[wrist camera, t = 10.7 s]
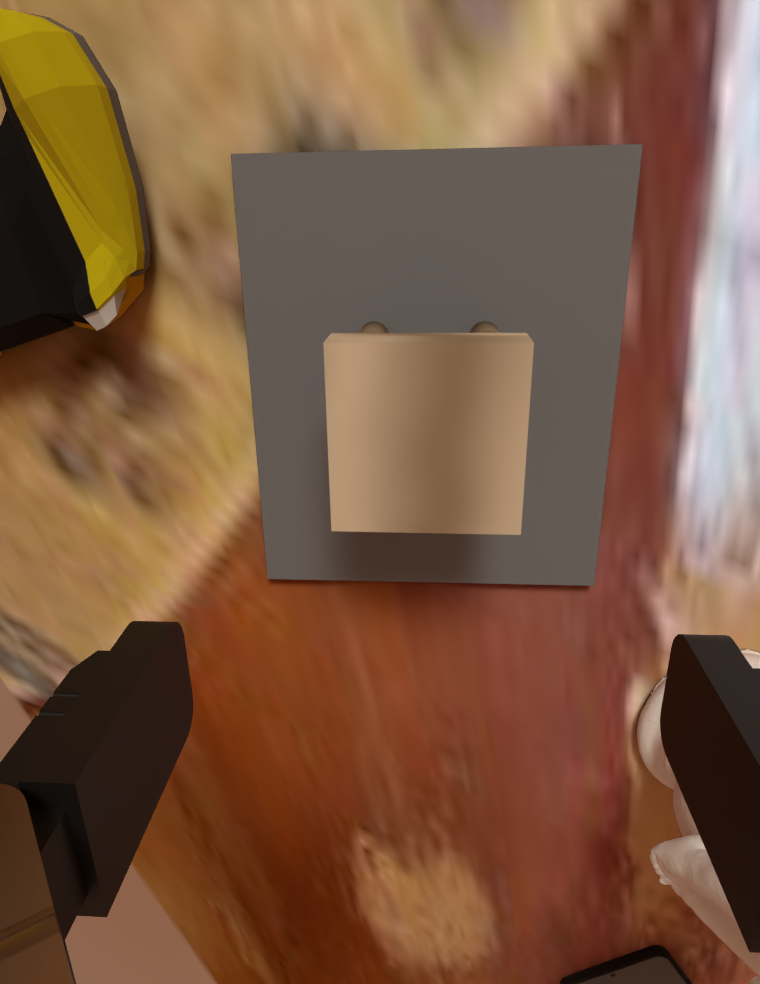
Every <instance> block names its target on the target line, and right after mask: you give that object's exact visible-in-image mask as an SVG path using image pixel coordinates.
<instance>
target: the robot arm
mask: <svg viewBox="0 0 760 984" xmlns="http://www.w3.org/2000/svg"><path fill="white" fill-rule="evenodd" d="M192 716H193V695H192V688H191V681H190V674H189V667H188V661H187V654H186V647H185V640H184V634H183V630H182V627H181V625H180V624H179V623H178V622H153V621H133V622H131V623H130V624H129V625H128V626H127V627H126V629H125V630H124V632H123V633H122V634H121V636H120V637H119V639H118V640H117V642H116V643H115V644H114V646H113V647H112V649H111V650H110V651H97V652H95V653H94V654H92V655H91V656H90V657H88V658H87V659H85V660H84V661H82V662H81V663H80V664H78V665H77V666H75V667H74V668H73V669H71V670H70V671H69V673H68V674H67V675H66V677H65V678H64V679H63V681H62V682H61V683H60V685H59V686H58V687H57V689H56V690H55V691H54V695H53V697H50V698H49V699H48V700H47V702H46V703H45V704H44V706H43V707H42V708H41V710H40V711H39V716H35V718H34V719H33V720H32V721H31V723H30V724H29V725H28V727H27V728H26V729H25V731H24V732H23V733H22V735H21V736H20V737H19V739H18V740H17V741H16V743H15V744H14V745H13V747H12V748H11V749H10V750H9V752H8V753H7V754H6V756H5V757H4V759H3V760H2V761H1V762H0V984H76V981H75V977H74V973H73V970H72V966H71V962H70V958H69V954H68V951H67V947H66V943H65V938H66V936H67V934H68V932H69V930H70V928H71V926H72V924H73V922H74V920H75V918H76V916H95V917H107V915H108V913H109V911H110V909H111V906H112V904H113V902H114V900H115V898H116V895H117V893H118V891H119V889H120V886H121V884H122V882H123V880H124V877H125V875H126V873H127V871H128V869H129V866H130V864H131V862H132V860H133V857H134V855H135V853H136V851H137V848H138V846H139V844H140V842H141V840H142V837H143V835H144V833H145V831H146V828H147V826H148V824H149V822H150V820H151V817H152V815H153V813H154V811H155V808H156V806H157V804H158V802H159V799H160V797H161V795H162V793H163V791H164V788H165V786H166V784H167V782H168V779H169V777H170V775H171V773H172V770H173V768H174V766H175V764H176V762H177V759H178V757H179V755H180V753H181V750H182V748H183V746H184V744H185V742H186V739H187V737H188V734H189V731H190V727H191V722H192ZM660 731H661V739H662V744H663V748H664V752H665V754H666V757H667V759H668V762H669V764H670V766H671V769H672V771H673V773H674V776H675V778H676V780H677V783H678V785H679V788H680V790H681V792H682V795H683V797H684V799H685V802H686V804H687V806H688V809H689V811H690V813H691V816H692V818H693V821H694V823H695V825H696V828H697V830H698V832H699V835H700V837H701V839H702V842H703V844H704V846H705V849H706V851H707V853H708V856H709V858H710V861H711V863H712V865H713V868H714V870H715V872H716V875H717V877H718V879H719V882H720V884H721V886H722V889H723V891H724V894H725V896H726V898H727V901H728V903H729V905H730V908H731V910H732V912H733V915H734V917H735V919H736V922H737V924H738V927H739V929H740V931H741V934H742V936H743V938H744V941H745V943H746V945H747V948H748V950H749V952H753V953H760V668H752V667H751V665H750V664H749V662H748V661H747V660H746V658H745V657H744V655H743V654H742V652H741V651H740V649H739V648H738V646H737V645H736V644H735V642H734V641H733V640H732V638H731V637H729V636H727V635H686V634H678V635H677V636H676V637H675V638H674V640H673V643H672V647H671V653H670V659H669V665H668V671H667V677H666V683H665V689H664V695H663V701H662V707H661V713H660Z"/></svg>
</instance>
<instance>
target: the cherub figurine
mask: <svg viewBox="0 0 760 984" xmlns="http://www.w3.org/2000/svg"><path fill="white" fill-rule="evenodd" d="M741 652H742V654H743V655H744V657H745V658H746V660H747V661H748V662H749V664H750V665H751V667H752V668H760V654H759V653H758V652H755V651H750V650H748V649H746V650H741ZM666 677H667V675H666ZM665 683H666V678H664V677H663V679H662V681H660V683H658V685H656V686H655V687H656V688H654V689H653V692H651V696H650V697H649V699H648V700H647V702H646V705H645V706H644V708H643V709H642V712H641V714H640V718H639V720H638V726H637V744H638V748H639V753H640V755H641V758H642V760H643V762H644V764H645V766H646V768H647V769H648V770H649V771H650V773H651V774H652V775H653V776H654V777H655V778H656V779H657V780H658V781H659V782H661V783H662V784H664V785H665V786H667V787H669V788H671V789H672V790H673V809H674V814H675V817H676V820H677V824H678V826H679V829H680V832H681V834H682V836H683V837H680V838H678V837H677V838H674V839H672V840H667V841H663V842H661V843H658V844H657V845H656V846H654V847H652V848H651V849H650V854H649V859H650V860H651V865H652V866H653V867H654V870H655V872H656V873H657V874H658V875H660V879H659V881H660V883H661V884H663V885H671V887H672V889H673V890H674V891H675V893H676V894H677V895H679V896H680V897H681V898H682V899H683V901H684V902H685V903H686V904H687V905H688V906H689V907H690V908H691V909H692V910H693V911H694V912H695V914H696V915H697V916H698V917H699V918H700V919H701V920H702V922H703V923H704V924H705V925H707V926H708V927H709V928H710V929H711V930H712V931H713V932H714V933H715V934H716V935H717V936H718V937H719V938H720V939H721V940H722V941H723V942H724V943H725V944H726V945H727V946H728V947H729V948H730V949H731V950H732V951H733V952H734V953H735V954H736V955H737V956H738V957H739V958H740V959H741V960H742V961H743V962H745V963H746V964H747V965H748V966H749V967H750V968H751V969H752V970H753V971H754V972H755V973H756V974H757V975H758V976H755V977H753V978H752V979H751V980H750V984H760V953H753V952H749V950H748V948H747V945H746V943H745V941H744V938H743V936H742V934H741V931H740V929H739V927H738V924H737V922H736V919H735V917H734V915H733V912H732V910H731V908H730V905H729V903H728V901H727V898H726V896H725V894H724V891H723V889H722V886H721V884H720V882H719V879H718V877H717V875H716V872H715V870H714V868H713V865H712V863H711V861H710V858H709V856H708V853H707V851H706V849H705V846H704V844H703V842H702V839H701V837H700V835H699V832H698V830H697V828H696V825H695V823H694V821H693V818H692V816H691V813H690V811H689V809H688V806H687V804H686V802H685V799H684V797H683V795H682V792H681V790H680V788H679V785H678V783H677V780H676V778H675V776H674V773H673V771H672V769H671V766H670V764H669V762H668V759H667V757H666V754H665V752H664V748H663V744H662V739H661V731H660V713H661V707H662V701H663V695H664V689H665Z"/></svg>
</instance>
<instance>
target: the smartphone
mask: <svg viewBox="0 0 760 984" xmlns="http://www.w3.org/2000/svg"><path fill="white" fill-rule="evenodd" d="M560 984H692V983H691V982H690V980H689V979H688V978H687V976H686V975H685V974H684V973H683V971H682V970H681V969H680V967H679V966H678V965H677V963H676V962H675V961H674V959H673V958H672V957H671V955H670V954H669V953H668V951H667V950H666V949H665V948H664V947H662V946H659V945H654V946H650V947H647V948H644V949H641V950H639V951H636V952H633V953H630V954H627V955H625V956H622V957H619V958H616V959H613V960H610V961H608V962H605V963H602V964H599V965H597V966H594V967H591V968H588V969H586V970H583V971H580V972H577V973H574V974H572V975H569V976H566V977H564V978H563V979H562V980H561V983H560Z"/></svg>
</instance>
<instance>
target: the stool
mask: <svg viewBox="0 0 760 984" xmlns="http://www.w3.org/2000/svg"><path fill="white" fill-rule="evenodd" d="M323 347H324V370H325V394H326V417H327V441H328V464H329V488H330V511H331V531H345V532H396V533H448V534H499V535H521V525H522V510H523V496H524V481H525V467H526V452H527V438H528V423H529V409H530V394H531V380H532V365H533V350H534V342H533V341H532V339H531V338H530V337H529V335H528V334H527V333H500V332H499V330H498V328H497V327H496V326H495V325H494V324H493V323H491V322H488V321H482V322H479V323H477V324H475V325H474V326H473V327H472V329H471V331H470V333H389V332H388V330H387V328H386V327H385V326H384V325H383V324H382V323H380V322H376V321H372V322H368V323H367V324H365V325H364V326H363V327H362V329H361V330H360V332H359V333H331V334H330V335H329V336H328V338H327V339H326V340H325V341H324V343H323Z"/></svg>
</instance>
